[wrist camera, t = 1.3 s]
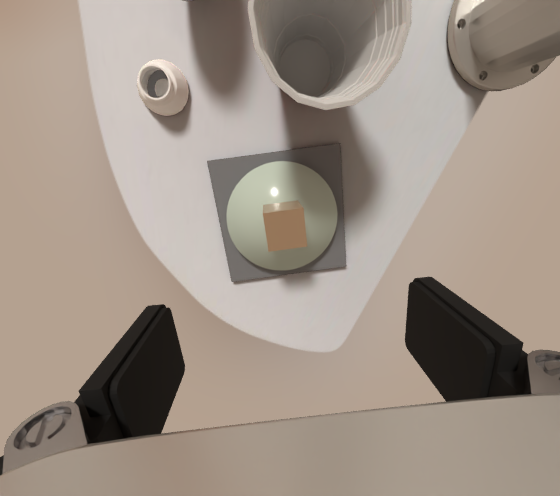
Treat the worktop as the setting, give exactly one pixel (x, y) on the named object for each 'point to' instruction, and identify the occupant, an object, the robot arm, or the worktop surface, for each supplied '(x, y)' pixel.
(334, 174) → the mat
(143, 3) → the worktop surface
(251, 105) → the worktop surface
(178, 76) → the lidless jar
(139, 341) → the robot arm
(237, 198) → the lid
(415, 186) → the worktop surface
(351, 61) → the plastic cup
